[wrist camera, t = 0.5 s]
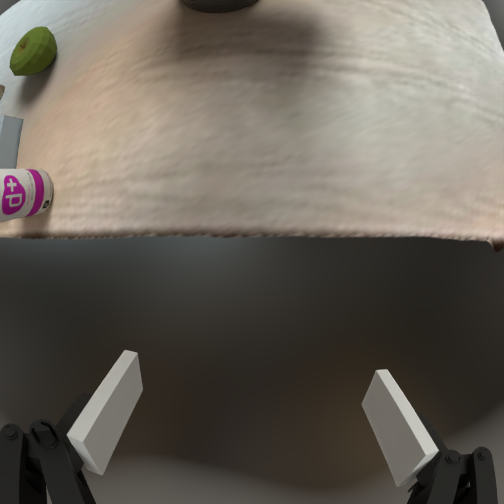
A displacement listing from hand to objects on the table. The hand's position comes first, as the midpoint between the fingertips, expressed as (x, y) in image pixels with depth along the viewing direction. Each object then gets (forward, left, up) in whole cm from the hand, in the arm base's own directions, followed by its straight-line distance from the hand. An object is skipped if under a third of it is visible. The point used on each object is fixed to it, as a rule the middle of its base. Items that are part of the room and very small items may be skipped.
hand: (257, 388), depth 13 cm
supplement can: (-8, -40, -28) cm, 49 cm away
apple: (-36, -46, -28) cm, 65 cm away
